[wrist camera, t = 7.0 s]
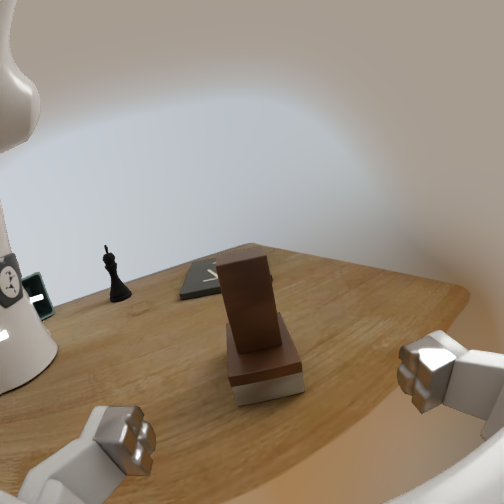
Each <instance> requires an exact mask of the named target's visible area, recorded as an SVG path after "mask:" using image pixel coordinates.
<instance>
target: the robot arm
mask: <svg viewBox="0 0 504 504" xmlns="http://www.w3.org/2000/svg"><path fill="white" fill-rule="evenodd" d="M16 3H17V0H0V153H3V152H5V151H7V150H9V149H11V148H13V147H15V146H17V145H19V144H21V143H24V142H26V141H27V140H28V139H29V137H30V136H31V134H32V133H33V131H34V129H35V127H36V125H37V123H38V120H39V115H40V109H41V101H40V95H39V92H38V89H37V87H36V86H35V84H34V83H33V82H32V81H31V80H30V79H29V78H27V77H26V76H25V75H23V74H22V72H21V71H20V70H19V69H18V67H17V66H16V64H15V62H14V60H13V58H12V54H11V50H10V40H9V38H10V28H11V23H12V17H13V14H14V10H15V6H16ZM10 253H11V254H10ZM7 254H8V255H7ZM21 277H22V275H21V272H20V269H19V264H18V261H17V259H16V256H15V254H14V253H12V251H11V247H10V244H9V240H8V235H7V230H6V226H5V221H4V215H3V210H2V204H1V201H0V394H2V393H4V392H6V391H9V390H11V389H14V388H16V387H19V386H21V385H23V384H24V383H26V382H28V381H29V380H31V379H32V378H34V377H35V376H37V375H38V374H39V373H40V372H42V371H43V370H44V369H45V368H46V367H47V366H48V365H49V364H50V363H51V361H52V360H53V359H54V357H55V355H56V353H57V350H58V346H57V344H56V342H55V341H54V340H53V339H52V337H51V333H50V331H49V330H48V329H46V328H45V326H44V325H43V323H42V321H41V319H40V317H39V315H38V313H37V311H36V309H35V307H34V305H33V303H32V302H35V301H38V300H41V299H43V296H42V294H41V295H38V296H35V297H32V298H30V297H29V295H28V293H27V291H26V290H25V289H24V288H23V285H22V281H21ZM399 358H400V359H401V361H402V362H401V364H400V365H399V367H398V369H397V379H398V384H399V386H400V388H401V389H402V391H403V392H404V393H405V394H408V395H411V396H412V403H413V404H414V405H415V407H416V408H417V409H418V410H419V412H420V413H421V414H423V413H425V412H427V411H429V410H431V409H433V408H434V407H436V406H438V405H440V404H442V403H443V405H445V406H448V407H450V408H453V409H456V410H458V411H461V412H463V413H466V414H469V415H472V416H474V417H477V418H480V419H483V420H486V423H485V425H484V427H483V429H482V430H481V434H480V436H481V437H482V438H483V439H484V440H485V442H484V443H483V444H482V445H480V446H479V447H478V448H477V449H475V450H474V451H472V452H471V453H470V454H468V455H467V456H466V457H464V458H463V459H462V460H460V461H458V462H457V463H455V464H454V465H452V466H451V467H449V468H448V469H446V470H445V471H443V472H441V473H440V474H438V475H437V476H435V477H433V478H431V479H430V480H428V481H426V482H424V483H423V484H421V485H419V486H417V487H415V488H413V489H411V490H410V491H408V492H406V493H404V494H402V495H399V496H397V497H395V498H393V499H391V500H389V501H386V502H384V503H382V504H504V354H498V353H491V352H485V351H478V350H471V351H468V350H467V349H465V348H464V347H463V346H461V345H460V344H459V343H457V342H456V341H455V340H454V339H452V338H451V337H449V336H448V335H447V334H445V333H444V332H443V331H440V330H437V331H435V332H433V333H431V334H429V335H426V336H425V337H423V338H420V339H418V340H416V341H414V342H412V343H409V344H407V345H405V346H402V347H401V349H400V351H399ZM143 417H144V413H143V412H142V410H141V409H140V407H138V406H96V407H94V409H93V411H92V413H91V415H90V417H89V419H88V421H87V423H86V425H85V427H84V429H83V431H82V433H81V435H80V437H79V439H74V440H73V441H71V442H70V443H69V444H67V445H66V446H64V447H63V448H61V449H60V450H59V451H57V452H56V453H54V454H53V455H51V456H50V457H48V458H47V459H45V460H44V461H43V462H41V463H40V464H38V465H37V466H35V467H34V468H32V469H31V470H29V472H28V474H27V476H26V478H25V480H24V482H23V484H22V486H21V488H20V490H19V492H18V495H17V497H14V496H12V495H10V494H8V493H6V492H5V491H3V490H1V489H0V504H103V502H104V501H105V500H106V499H107V498H108V497H109V496H110V495H111V494H112V493H113V491H114V490H115V489H116V488H117V487H118V486H119V485H120V484H121V482H122V481H123V480H124V479H125V478H126V475H127V476H150V474H151V468H152V463H153V460H152V458H151V457H150V454H152V453H153V452H154V451H155V447H156V436H155V433H154V430H153V428H152V426H151V425H150V423H148V422H146V421H145V420H143Z"/></svg>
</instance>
